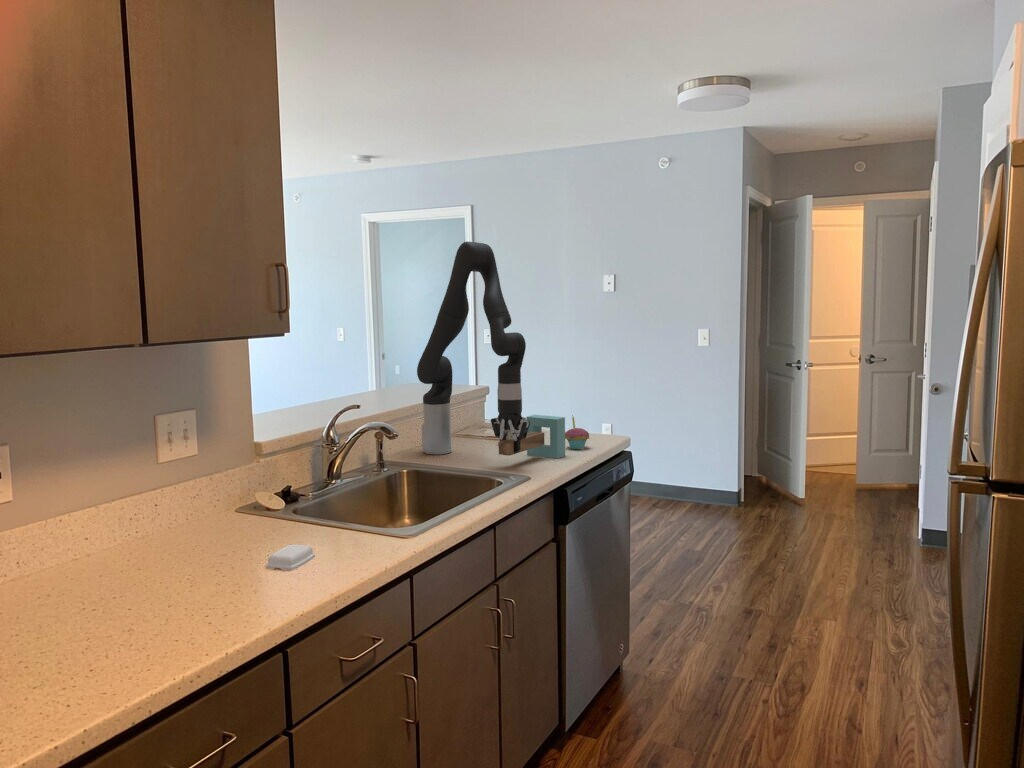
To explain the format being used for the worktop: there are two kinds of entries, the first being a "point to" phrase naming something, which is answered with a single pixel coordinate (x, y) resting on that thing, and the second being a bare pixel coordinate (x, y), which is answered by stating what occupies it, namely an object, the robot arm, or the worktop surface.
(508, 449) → the brown rectangular block
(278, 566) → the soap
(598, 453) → the worktop surface
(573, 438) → the cupcake
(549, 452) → the light blue hollow block
